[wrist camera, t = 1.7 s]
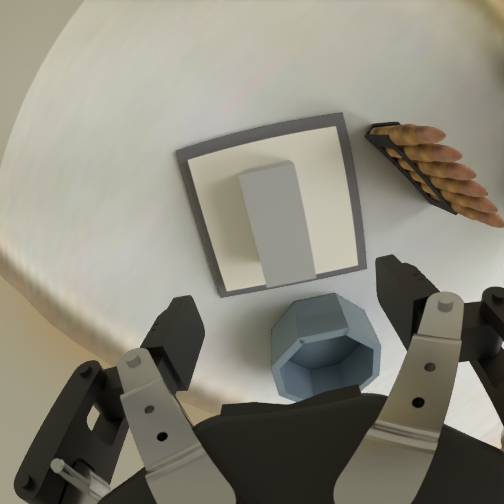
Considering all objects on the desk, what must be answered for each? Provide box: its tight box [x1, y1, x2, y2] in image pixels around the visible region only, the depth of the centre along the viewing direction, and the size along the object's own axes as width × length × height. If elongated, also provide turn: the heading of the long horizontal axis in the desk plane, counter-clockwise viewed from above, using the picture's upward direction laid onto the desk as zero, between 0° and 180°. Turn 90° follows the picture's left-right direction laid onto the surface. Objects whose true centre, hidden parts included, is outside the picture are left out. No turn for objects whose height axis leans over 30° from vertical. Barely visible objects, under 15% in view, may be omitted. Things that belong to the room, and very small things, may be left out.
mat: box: [176, 113, 367, 298], centre depth 26 cm, size 16×16×1 cm
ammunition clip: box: [365, 122, 504, 228], centre depth 18 cm, size 11×2×12 cm, turn 55°
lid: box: [188, 126, 358, 291], centre depth 23 cm, size 14×14×6 cm
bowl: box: [271, 293, 381, 402], centre depth 29 cm, size 11×11×6 cm
